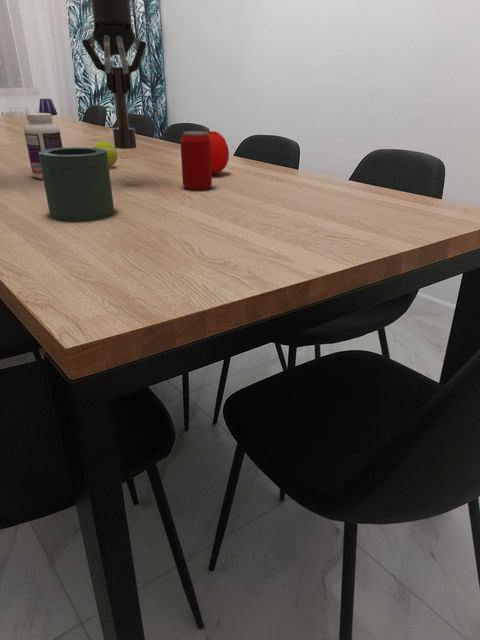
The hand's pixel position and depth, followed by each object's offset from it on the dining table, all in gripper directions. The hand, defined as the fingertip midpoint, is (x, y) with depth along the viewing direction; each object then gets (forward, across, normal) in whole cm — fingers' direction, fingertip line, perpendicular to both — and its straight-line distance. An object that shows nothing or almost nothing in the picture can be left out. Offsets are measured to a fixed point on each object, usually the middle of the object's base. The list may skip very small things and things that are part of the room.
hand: (120, 93), depth 109 cm
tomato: (+20, -18, -15) cm, 31 cm away
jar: (+20, +5, +27) cm, 34 cm away
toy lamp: (+20, +25, -31) cm, 44 cm away
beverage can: (+20, -16, +3) cm, 25 cm away
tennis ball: (+20, +10, -25) cm, 33 cm away
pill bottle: (+20, +21, -10) cm, 30 cm away
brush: (+11, 0, 0) cm, 11 cm away
